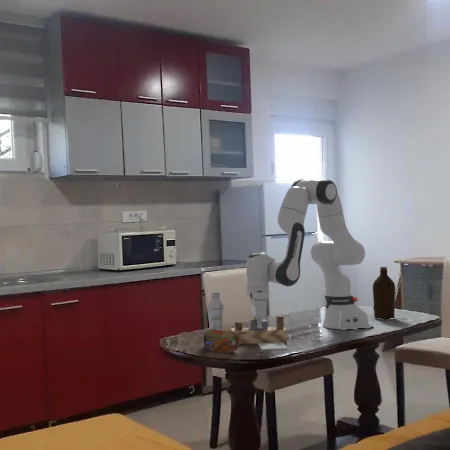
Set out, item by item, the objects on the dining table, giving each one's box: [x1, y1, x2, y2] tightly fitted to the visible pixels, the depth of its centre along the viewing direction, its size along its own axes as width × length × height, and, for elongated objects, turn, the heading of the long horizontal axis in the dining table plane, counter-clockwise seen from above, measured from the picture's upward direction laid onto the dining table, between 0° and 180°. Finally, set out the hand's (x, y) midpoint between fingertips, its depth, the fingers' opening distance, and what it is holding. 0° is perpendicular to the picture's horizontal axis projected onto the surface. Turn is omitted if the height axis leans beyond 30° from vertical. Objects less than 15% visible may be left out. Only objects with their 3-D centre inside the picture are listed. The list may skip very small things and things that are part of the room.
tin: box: [203, 329, 240, 354], centre depth 220 cm, size 15×3×8 cm, turn 56°
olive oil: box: [372, 266, 396, 319], centre depth 282 cm, size 11×11×25 cm
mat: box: [257, 342, 288, 351], centre depth 226 cm, size 10×10×1 cm
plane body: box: [230, 315, 288, 345], centre depth 236 cm, size 22×7×10 cm, turn 94°
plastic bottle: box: [207, 292, 225, 330], centre depth 236 cm, size 6×7×20 cm
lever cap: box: [248, 317, 269, 330], centre depth 236 cm, size 7×4×4 cm, turn 94°
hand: (258, 326), depth 236 cm, fingers open, 5 cm apart
